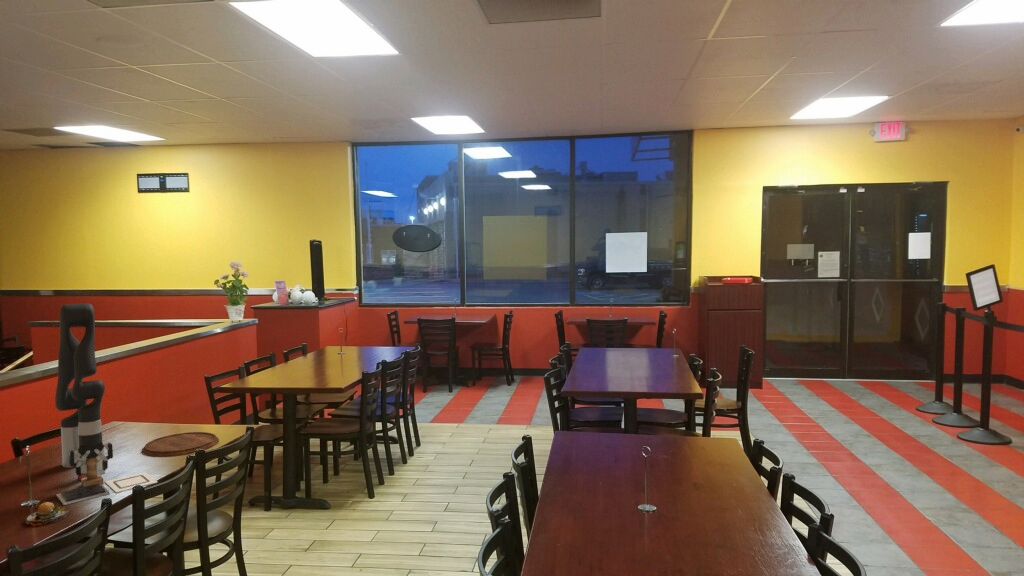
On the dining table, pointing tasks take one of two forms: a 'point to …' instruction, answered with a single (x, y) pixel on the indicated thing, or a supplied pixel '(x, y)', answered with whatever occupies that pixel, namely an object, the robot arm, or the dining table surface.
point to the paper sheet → (130, 482)
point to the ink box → (84, 466)
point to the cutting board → (180, 444)
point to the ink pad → (82, 494)
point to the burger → (47, 514)
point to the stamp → (91, 473)
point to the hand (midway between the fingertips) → (91, 472)
